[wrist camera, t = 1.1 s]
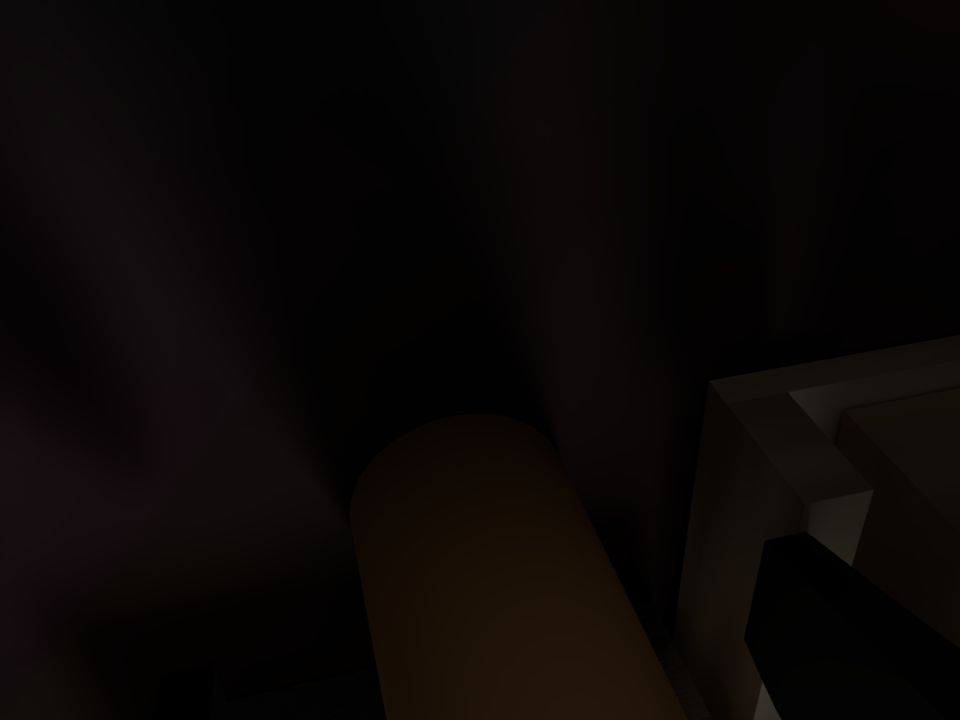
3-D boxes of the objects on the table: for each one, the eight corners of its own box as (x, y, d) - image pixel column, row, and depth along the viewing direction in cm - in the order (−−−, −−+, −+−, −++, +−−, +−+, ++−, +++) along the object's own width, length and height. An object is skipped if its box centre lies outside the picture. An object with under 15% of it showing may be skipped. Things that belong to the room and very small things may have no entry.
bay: (968, 755, 24) (1101, 934, 20) (644, 846, 22) (727, 1058, 18) (1193, 292, 16) (1481, 454, 12) (708, 380, 14) (878, 599, 10)
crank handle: (560, 567, 16) (798, 1122, 9) (363, 609, 15) (477, 1235, 9) (566, 379, 13) (886, 950, 7) (333, 419, 13) (458, 1084, 6)
